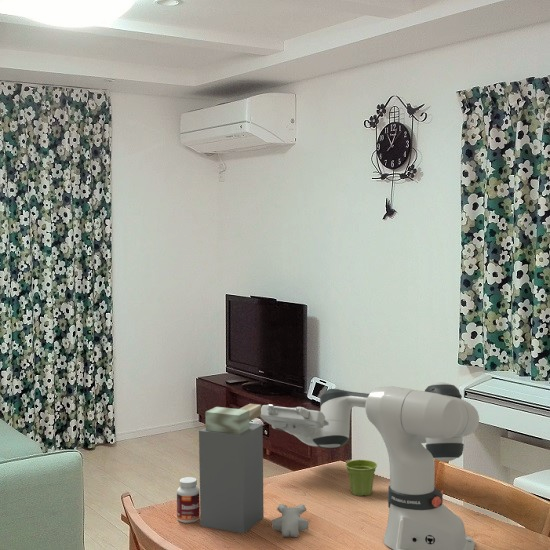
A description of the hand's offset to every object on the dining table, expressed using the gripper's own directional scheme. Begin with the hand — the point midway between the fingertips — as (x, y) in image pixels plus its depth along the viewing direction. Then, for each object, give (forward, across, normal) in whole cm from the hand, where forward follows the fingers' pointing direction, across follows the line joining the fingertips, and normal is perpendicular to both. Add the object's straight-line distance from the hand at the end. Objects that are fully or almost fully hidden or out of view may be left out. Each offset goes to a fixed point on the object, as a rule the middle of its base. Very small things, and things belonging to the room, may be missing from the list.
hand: (283, 408), depth 238 cm
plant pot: (-19, -22, -18) cm, 34 cm away
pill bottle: (+14, +14, -38) cm, 43 cm away
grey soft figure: (+9, -14, -35) cm, 39 cm away
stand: (+12, +2, -36) cm, 38 cm away
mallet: (+20, +3, -11) cm, 23 cm away
